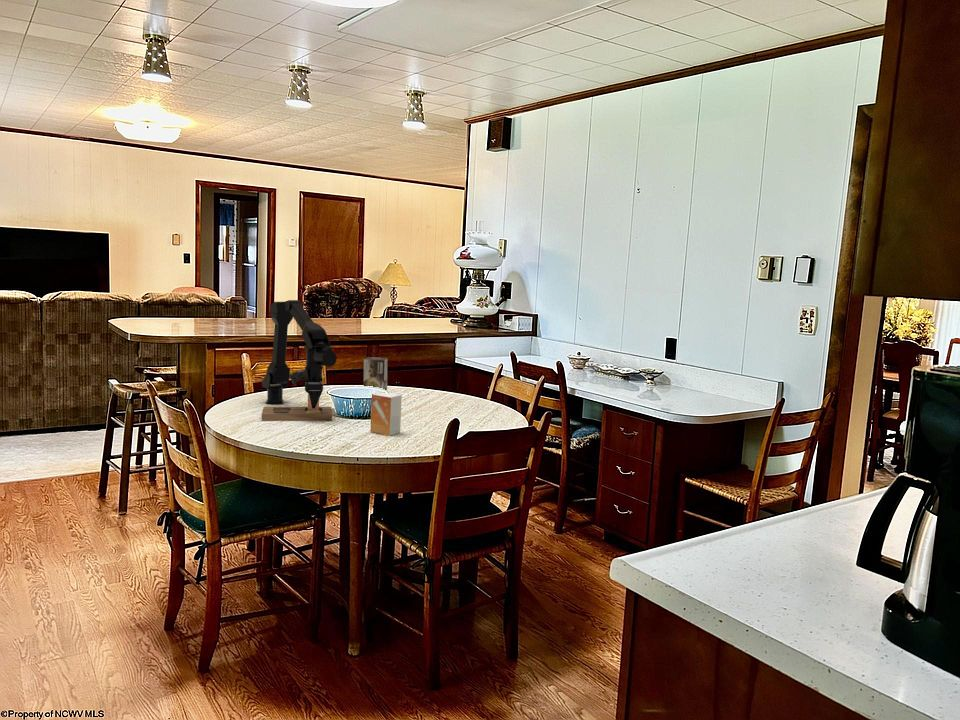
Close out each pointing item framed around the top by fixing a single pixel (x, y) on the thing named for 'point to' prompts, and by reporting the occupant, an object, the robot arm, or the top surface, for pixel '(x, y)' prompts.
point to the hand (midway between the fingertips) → (313, 405)
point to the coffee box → (375, 372)
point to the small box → (386, 413)
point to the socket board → (296, 414)
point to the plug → (311, 406)
